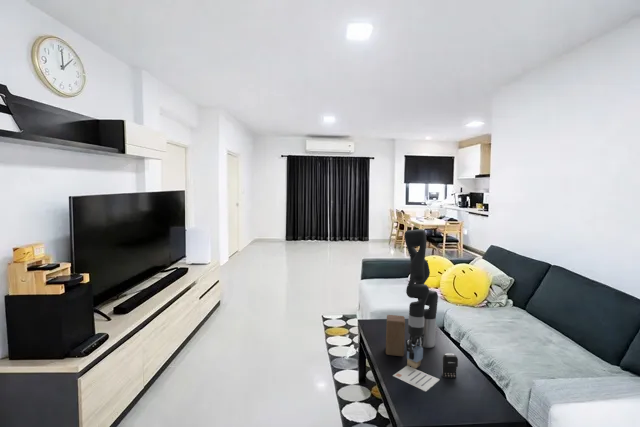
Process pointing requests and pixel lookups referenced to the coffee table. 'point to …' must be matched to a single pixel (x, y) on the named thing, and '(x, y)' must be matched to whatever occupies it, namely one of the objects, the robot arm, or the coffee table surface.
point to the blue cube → (416, 354)
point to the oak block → (413, 363)
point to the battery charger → (449, 365)
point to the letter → (416, 378)
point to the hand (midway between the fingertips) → (414, 356)
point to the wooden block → (395, 335)
